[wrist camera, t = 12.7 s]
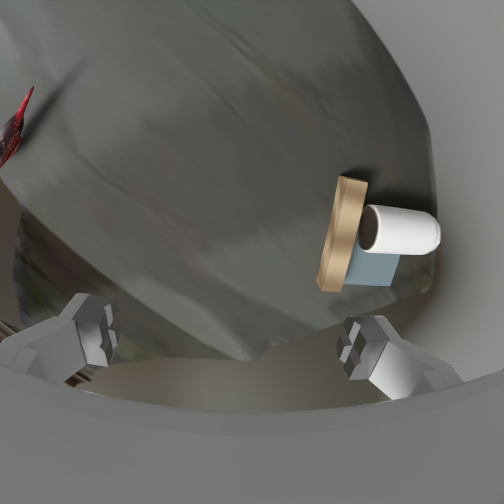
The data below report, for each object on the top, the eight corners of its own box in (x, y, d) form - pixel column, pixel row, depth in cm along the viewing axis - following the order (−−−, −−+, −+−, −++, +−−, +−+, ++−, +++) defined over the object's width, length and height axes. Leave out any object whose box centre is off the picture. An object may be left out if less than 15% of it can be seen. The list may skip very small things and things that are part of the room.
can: (381, 205, 33) (445, 215, 34) (357, 202, 39) (419, 210, 41) (375, 257, 34) (439, 259, 36) (352, 247, 40) (414, 250, 42)
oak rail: (339, 175, 37) (347, 178, 34) (358, 179, 37) (367, 182, 35) (316, 280, 43) (321, 290, 40) (334, 281, 44) (340, 291, 41)
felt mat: (355, 206, 39) (356, 207, 39) (409, 216, 40) (411, 217, 40) (336, 282, 44) (337, 283, 43) (388, 285, 45) (390, 286, 44)
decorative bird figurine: (-4, 173, 31) (-44, 187, 22) (52, 83, 28) (11, 77, 19) (4, 184, 32) (-36, 201, 23) (62, 95, 29) (21, 90, 20)
